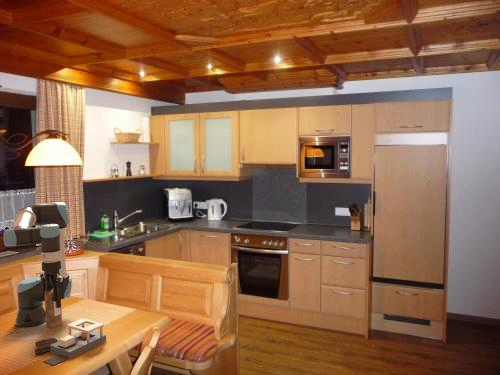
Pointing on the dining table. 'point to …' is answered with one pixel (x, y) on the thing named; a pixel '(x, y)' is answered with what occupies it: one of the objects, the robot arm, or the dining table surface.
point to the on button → (67, 341)
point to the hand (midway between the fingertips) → (53, 313)
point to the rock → (44, 345)
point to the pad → (55, 360)
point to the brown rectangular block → (51, 311)
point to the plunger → (84, 336)
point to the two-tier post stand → (80, 339)
